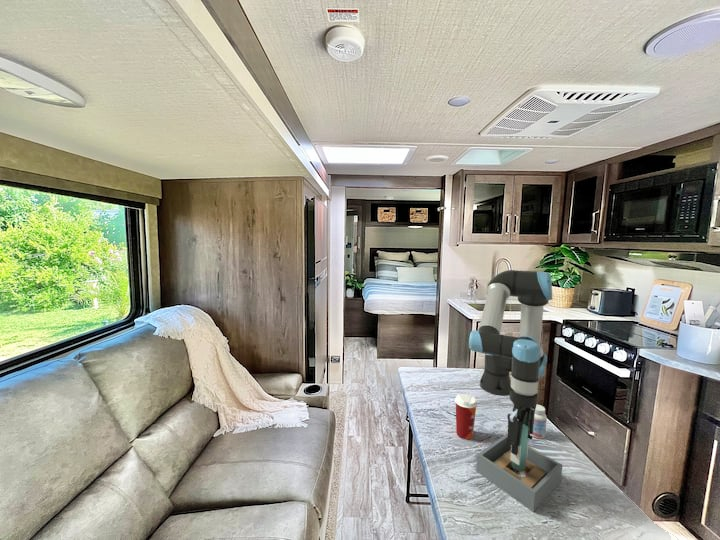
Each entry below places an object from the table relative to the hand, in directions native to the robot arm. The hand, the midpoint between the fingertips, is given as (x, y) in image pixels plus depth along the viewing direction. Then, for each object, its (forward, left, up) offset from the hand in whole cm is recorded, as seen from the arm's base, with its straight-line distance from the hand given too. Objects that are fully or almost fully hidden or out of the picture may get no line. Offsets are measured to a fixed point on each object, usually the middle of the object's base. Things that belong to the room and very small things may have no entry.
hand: (518, 458), depth 96 cm
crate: (0, 0, -6) cm, 6 cm away
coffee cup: (-4, -23, -7) cm, 24 cm away
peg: (0, 0, -3) cm, 3 cm away
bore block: (0, 0, -6) cm, 6 cm away
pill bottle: (-27, -7, -7) cm, 29 cm away
